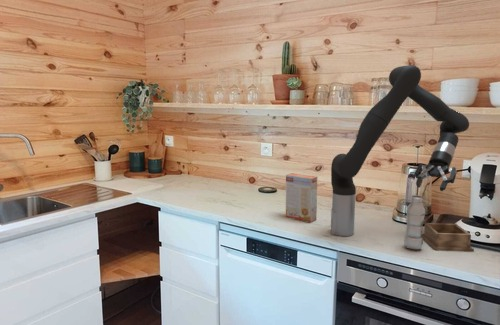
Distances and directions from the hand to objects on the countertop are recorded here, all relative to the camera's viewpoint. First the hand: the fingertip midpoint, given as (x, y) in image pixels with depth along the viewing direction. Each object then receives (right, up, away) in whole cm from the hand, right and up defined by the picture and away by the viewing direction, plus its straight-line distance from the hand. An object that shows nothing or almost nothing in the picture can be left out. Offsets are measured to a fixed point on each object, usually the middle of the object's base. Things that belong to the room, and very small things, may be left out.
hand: (429, 188), depth 138 cm
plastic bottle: (-8, -23, -4) cm, 24 cm away
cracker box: (-46, -17, +31) cm, 57 cm away
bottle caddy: (+6, -21, 0) cm, 22 cm away
